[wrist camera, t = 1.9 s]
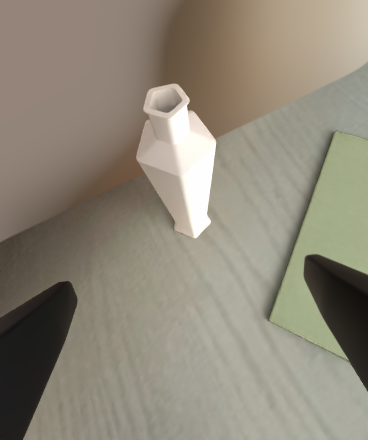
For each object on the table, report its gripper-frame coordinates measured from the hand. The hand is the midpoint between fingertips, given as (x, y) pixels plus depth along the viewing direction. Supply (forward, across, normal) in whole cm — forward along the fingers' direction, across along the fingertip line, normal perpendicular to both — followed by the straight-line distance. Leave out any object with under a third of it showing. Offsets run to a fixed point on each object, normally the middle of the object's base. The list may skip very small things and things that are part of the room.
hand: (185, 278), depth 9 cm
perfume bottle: (+16, 0, +4) cm, 16 cm away
